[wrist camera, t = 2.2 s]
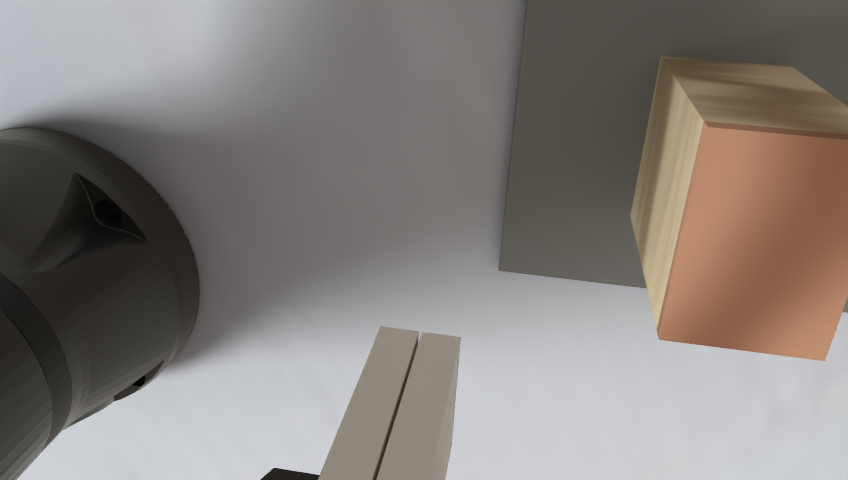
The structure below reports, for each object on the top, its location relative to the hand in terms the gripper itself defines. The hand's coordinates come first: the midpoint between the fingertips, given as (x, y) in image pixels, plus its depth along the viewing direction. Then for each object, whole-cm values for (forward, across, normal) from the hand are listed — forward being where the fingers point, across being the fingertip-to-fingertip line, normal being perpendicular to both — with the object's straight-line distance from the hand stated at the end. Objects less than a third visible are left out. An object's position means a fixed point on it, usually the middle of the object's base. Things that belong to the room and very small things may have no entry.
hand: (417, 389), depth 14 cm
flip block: (+19, +9, 0) cm, 21 cm away
